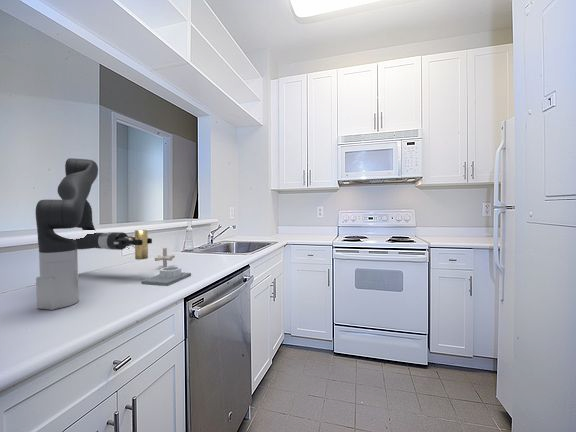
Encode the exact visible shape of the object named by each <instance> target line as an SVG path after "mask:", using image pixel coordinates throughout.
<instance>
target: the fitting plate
mask: <svg viewBox="0 0 576 432" xmlns="http://www.w3.org/2000/svg"><path fill="white" fill-rule="evenodd" d="M191 276H192V273H191V272H182V267H181V266H175V265H173V266H167V267H164V268H163V267H161V268H159V274H157V275H154V276H151V277H148V278H146V279H143V280H141V285H152V286H162V287H163V286H164V287H165V286H166V287H168V286H171V285H172V284H175V283H177V282H180V281H182V280H184V279H187V278H189V277H191Z"/></svg>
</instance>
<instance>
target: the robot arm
mask: <svg viewBox="0 0 576 432" xmlns="http://www.w3.org/2000/svg"><path fill="white" fill-rule="evenodd" d="M64 167H65V169H64V170H65V172H64V173H65V176H64V177H63V178H62V179H61V181H60V183H59V184H58V186H57V194H58V197H59V198H60V199H40V200H39V201H37V203H36V206H35V222H36V231H37V244H38V245H37V246H38V259H39V261H38V263H39V264H38V265H39V276H37V277H35V285H36V286H35V287H36V308H37V309H41V310H50V311H51V310H52V311H53V310H56V309H60V308H62V309H63V308H65V307H70V306H73V305H75V304H78V302H79V301H80V300H79V299H80V297H79V296H80V295H79V294H80V293H79V292H80V291H79V270H78V269H79V265H78V264H79V263H78V261H79V260H78V250H90V249H100V250H101V249H102V250H103V249H104V250H112V251H113V250H116V251H117V250H118V251H122V250H124V249H126V248H127V247H132V246H135V245H142V244H143V240H135V236H132V235H131V236H129V235H127V234H126V232H123V231H121V232H120V231H119V232H117V231H112V232H110V231H108V232H96V233H94V234H87V235H86V236H85V237H84V238H80V239H76V240H73V239H69V238H67V237H65V236H64V237H63V236H62V235H59V234H57V233H56V232H55V231H54V230H62V229H63V230H65V229H66V230H67V229H75V228H79V229H82V231H83V230H95V231H96V228H95V226H94V222H93V208H92V206H91V204H90V202H89V201H88V198H89V195H90V192H91V189H92V185H93V184H94V183H95V180H97V177H98V176H99V175H98V174H99V167H98V164H97V162H95V161H94V160H93V159H85V158H72V157H70V158H67V159H66V161H65V164H64ZM152 243H153V239H152V238H151V237H150V238H149V237H148V245H149V244H151V245H152Z"/></svg>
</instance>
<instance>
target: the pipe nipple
mask: <svg viewBox="0 0 576 432" xmlns="http://www.w3.org/2000/svg"><path fill="white" fill-rule="evenodd" d="M148 232H149V231H148V230H147V229H135V230H134V237H135V240H143V244H142V245H134V259H135V260H139V261H140V260H146V259H148V258H149V244H148V238H149V236H148V235H149V234H148Z"/></svg>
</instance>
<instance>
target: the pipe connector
mask: <svg viewBox="0 0 576 432" xmlns="http://www.w3.org/2000/svg"><path fill="white" fill-rule="evenodd" d="M167 252H168V249H167V247H163V248H162V254H161V255H160V254H159V255H157V257H154V261H155V262H160V261H162V268H164V267H168V261H170V262H171V261H173V259H175V258H176V256H175V254H169V255H168V253H167Z"/></svg>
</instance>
